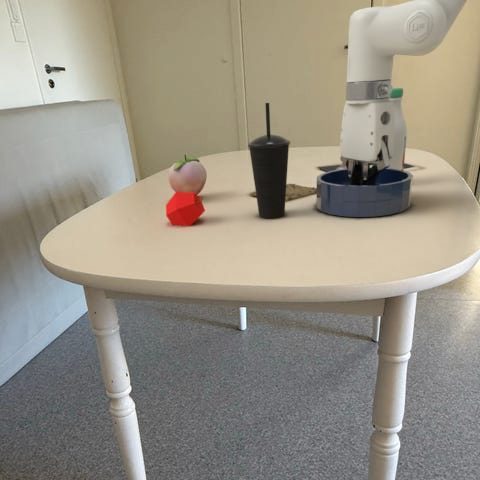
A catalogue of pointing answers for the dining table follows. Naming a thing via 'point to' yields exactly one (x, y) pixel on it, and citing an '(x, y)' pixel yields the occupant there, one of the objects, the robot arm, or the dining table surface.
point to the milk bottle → (398, 131)
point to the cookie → (296, 192)
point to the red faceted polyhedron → (184, 208)
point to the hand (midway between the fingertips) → (361, 197)
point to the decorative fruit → (187, 176)
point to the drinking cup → (270, 171)
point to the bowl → (364, 194)
